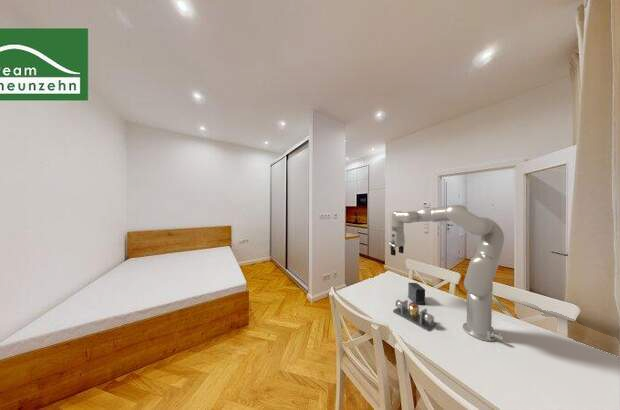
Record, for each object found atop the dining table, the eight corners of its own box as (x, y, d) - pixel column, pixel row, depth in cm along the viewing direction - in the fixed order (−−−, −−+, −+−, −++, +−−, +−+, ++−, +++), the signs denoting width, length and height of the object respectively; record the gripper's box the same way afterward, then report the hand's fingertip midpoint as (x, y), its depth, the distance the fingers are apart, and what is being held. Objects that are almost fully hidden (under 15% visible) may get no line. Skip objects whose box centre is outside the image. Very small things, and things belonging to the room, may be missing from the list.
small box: (425, 305, 123) (425, 289, 122) (415, 305, 123) (415, 289, 123) (416, 297, 133) (417, 282, 133) (407, 296, 133) (407, 282, 133)
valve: (420, 316, 108) (420, 304, 108) (415, 320, 105) (416, 307, 105) (411, 312, 112) (411, 300, 112) (406, 315, 110) (406, 303, 109)
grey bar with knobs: (436, 324, 103) (436, 311, 103) (428, 330, 98) (428, 317, 98) (401, 307, 120) (401, 296, 120) (393, 312, 115) (393, 300, 115)
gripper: (395, 231, 120) (395, 257, 120) (409, 228, 130) (409, 253, 130) (385, 229, 126) (384, 254, 127) (399, 227, 136) (398, 250, 136)
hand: (397, 253), depth 128 cm, fingers open, 9 cm apart
